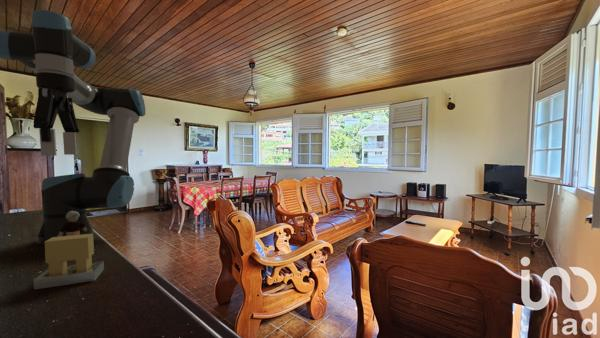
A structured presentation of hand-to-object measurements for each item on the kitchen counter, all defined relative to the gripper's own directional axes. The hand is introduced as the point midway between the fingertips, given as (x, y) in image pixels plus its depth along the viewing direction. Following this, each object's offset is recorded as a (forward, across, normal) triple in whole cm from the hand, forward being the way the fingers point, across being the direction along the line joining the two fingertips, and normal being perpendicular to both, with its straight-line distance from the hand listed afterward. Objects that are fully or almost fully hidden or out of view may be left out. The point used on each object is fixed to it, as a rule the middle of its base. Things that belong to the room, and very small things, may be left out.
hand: (60, 155), depth 72 cm
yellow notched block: (+29, +14, +5) cm, 33 cm away
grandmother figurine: (+30, -10, -2) cm, 32 cm away
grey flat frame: (+29, +14, +5) cm, 33 cm away
